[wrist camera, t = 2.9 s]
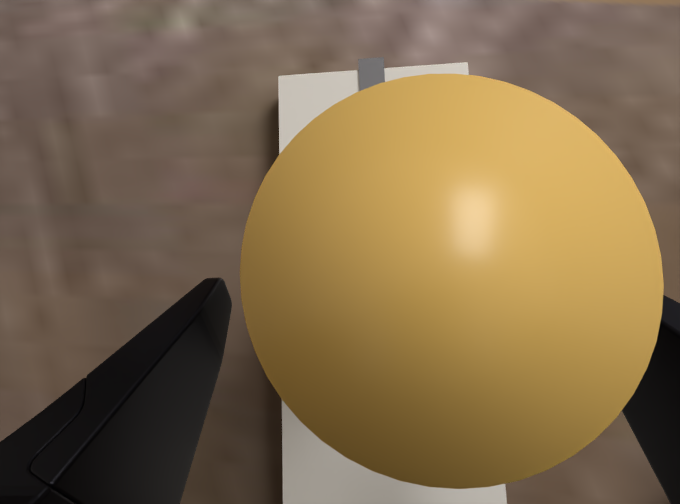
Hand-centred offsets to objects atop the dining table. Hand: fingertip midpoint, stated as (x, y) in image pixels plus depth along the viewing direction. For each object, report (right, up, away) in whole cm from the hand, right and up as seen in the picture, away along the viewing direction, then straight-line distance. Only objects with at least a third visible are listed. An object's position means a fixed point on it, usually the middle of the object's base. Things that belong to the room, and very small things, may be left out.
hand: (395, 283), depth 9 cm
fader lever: (0, -1, +6) cm, 6 cm away
